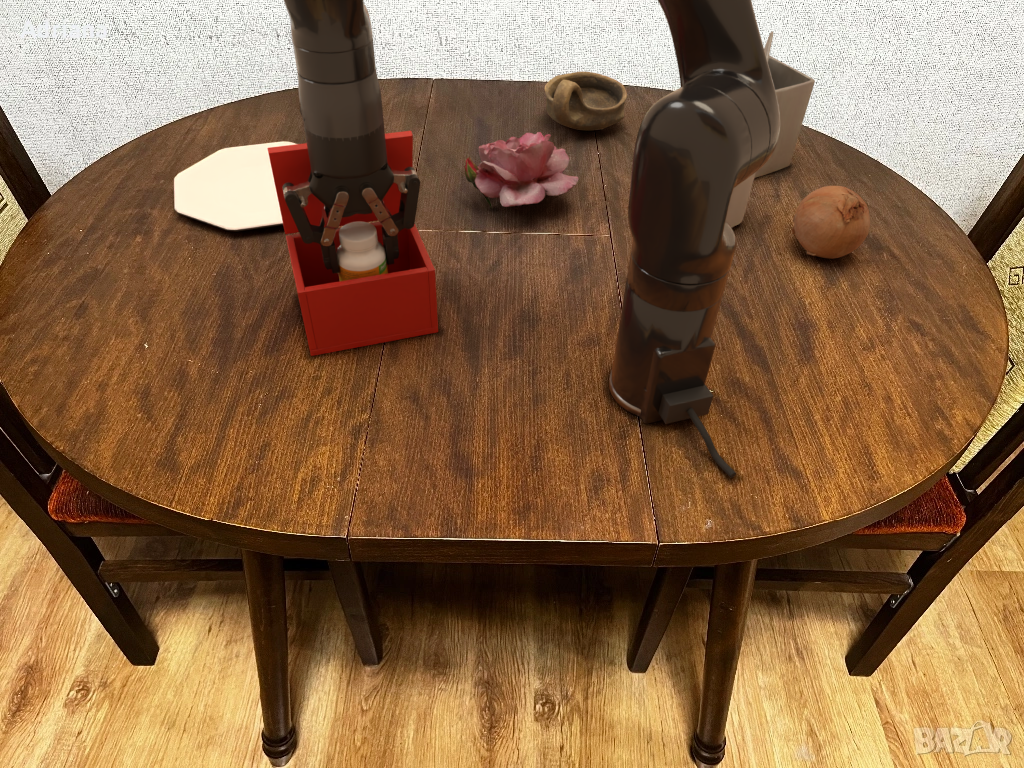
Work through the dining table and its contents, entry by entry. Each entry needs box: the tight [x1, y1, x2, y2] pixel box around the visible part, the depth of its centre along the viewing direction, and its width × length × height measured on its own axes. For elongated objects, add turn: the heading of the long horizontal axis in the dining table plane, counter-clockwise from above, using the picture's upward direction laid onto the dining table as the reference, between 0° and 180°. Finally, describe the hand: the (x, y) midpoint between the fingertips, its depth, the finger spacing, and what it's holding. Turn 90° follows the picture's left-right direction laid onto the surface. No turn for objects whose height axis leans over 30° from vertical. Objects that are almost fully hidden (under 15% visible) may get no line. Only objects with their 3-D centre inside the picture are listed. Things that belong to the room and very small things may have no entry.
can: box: [726, 172, 756, 229], centre depth 104 cm, size 8×8×12 cm
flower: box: [463, 131, 579, 210], centre depth 107 cm, size 15×15×10 cm
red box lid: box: [267, 130, 414, 235], centre depth 84 cm, size 12×15×5 cm
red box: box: [285, 221, 439, 357], centre depth 87 cm, size 11×15×9 cm
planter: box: [754, 31, 816, 179], centre depth 114 cm, size 16×8×19 cm, turn 164°
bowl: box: [544, 70, 628, 131], centre depth 124 cm, size 14×18×10 cm
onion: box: [791, 185, 871, 259], centre depth 100 cm, size 10×9×10 cm
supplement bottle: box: [336, 221, 388, 281], centre depth 84 cm, size 5×5×10 cm
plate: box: [173, 140, 296, 232], centre depth 110 cm, size 24×24×2 cm
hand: (362, 264), depth 84 cm, fingers closed on supplement bottle, 5 cm apart
